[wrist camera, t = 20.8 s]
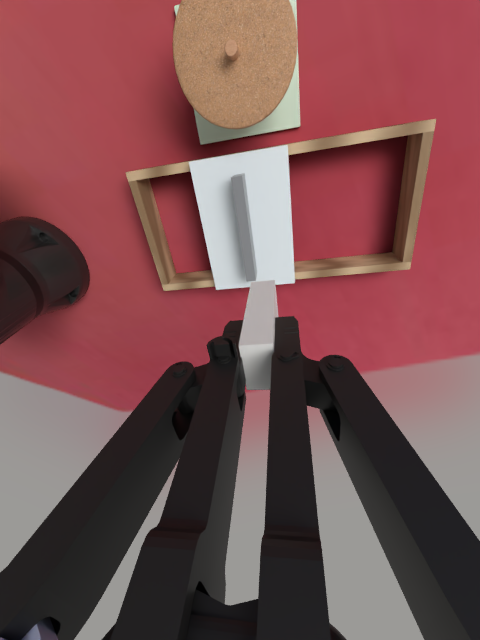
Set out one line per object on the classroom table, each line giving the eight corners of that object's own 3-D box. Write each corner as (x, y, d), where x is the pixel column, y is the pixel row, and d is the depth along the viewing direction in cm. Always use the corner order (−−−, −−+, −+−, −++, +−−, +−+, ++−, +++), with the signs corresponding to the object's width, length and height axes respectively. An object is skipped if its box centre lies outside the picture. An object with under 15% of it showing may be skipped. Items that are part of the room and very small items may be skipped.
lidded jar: (297, 119, 32) (303, 113, 24) (208, 140, 34) (186, 140, 26) (288, -17, 27) (292, -82, 19) (182, 17, 29) (146, -28, 21)
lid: (217, 287, 41) (212, 298, 38) (190, 161, 32) (181, 163, 30) (294, 280, 39) (295, 291, 36) (287, 144, 30) (288, 145, 28)
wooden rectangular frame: (172, 279, 46) (163, 290, 42) (139, 169, 38) (125, 172, 34) (398, 258, 40) (409, 269, 36) (419, 121, 31) (436, 118, 28)
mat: (201, 144, 35) (200, 144, 35) (175, 8, 29) (174, 5, 28) (299, 126, 33) (300, 126, 32) (294, -25, 27) (295, -28, 26)
